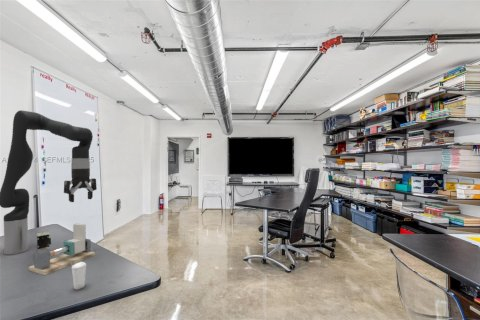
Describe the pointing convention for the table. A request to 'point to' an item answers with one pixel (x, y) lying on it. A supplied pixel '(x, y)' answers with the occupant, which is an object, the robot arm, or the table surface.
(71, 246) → the thin teal tile
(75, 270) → the milkshake
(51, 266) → the pipe stand
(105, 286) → the table surface
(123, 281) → the table surface
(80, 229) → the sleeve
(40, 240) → the pneumatic valve
